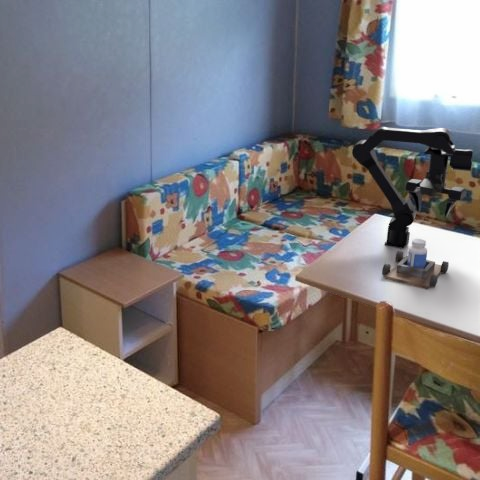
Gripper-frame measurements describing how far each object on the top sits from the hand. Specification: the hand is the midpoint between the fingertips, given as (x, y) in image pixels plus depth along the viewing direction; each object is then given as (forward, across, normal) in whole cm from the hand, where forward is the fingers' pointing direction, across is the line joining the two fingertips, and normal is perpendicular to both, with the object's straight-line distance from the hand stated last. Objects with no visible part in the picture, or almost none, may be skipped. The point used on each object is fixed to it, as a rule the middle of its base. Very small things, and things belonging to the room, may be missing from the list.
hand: (432, 214), depth 223 cm
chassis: (+12, +5, -23) cm, 26 cm away
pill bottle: (+11, +5, -23) cm, 26 cm away
